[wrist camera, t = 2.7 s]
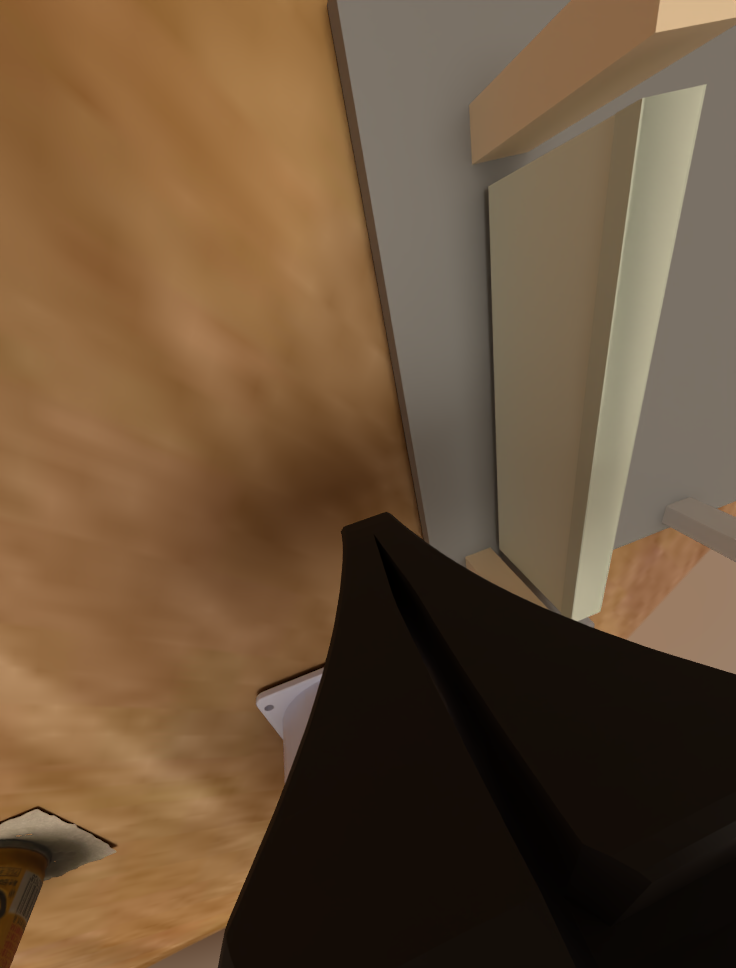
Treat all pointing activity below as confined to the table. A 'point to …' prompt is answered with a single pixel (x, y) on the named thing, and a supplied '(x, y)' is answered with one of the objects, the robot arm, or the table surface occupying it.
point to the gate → (580, 335)
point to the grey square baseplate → (466, 235)
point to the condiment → (36, 867)
